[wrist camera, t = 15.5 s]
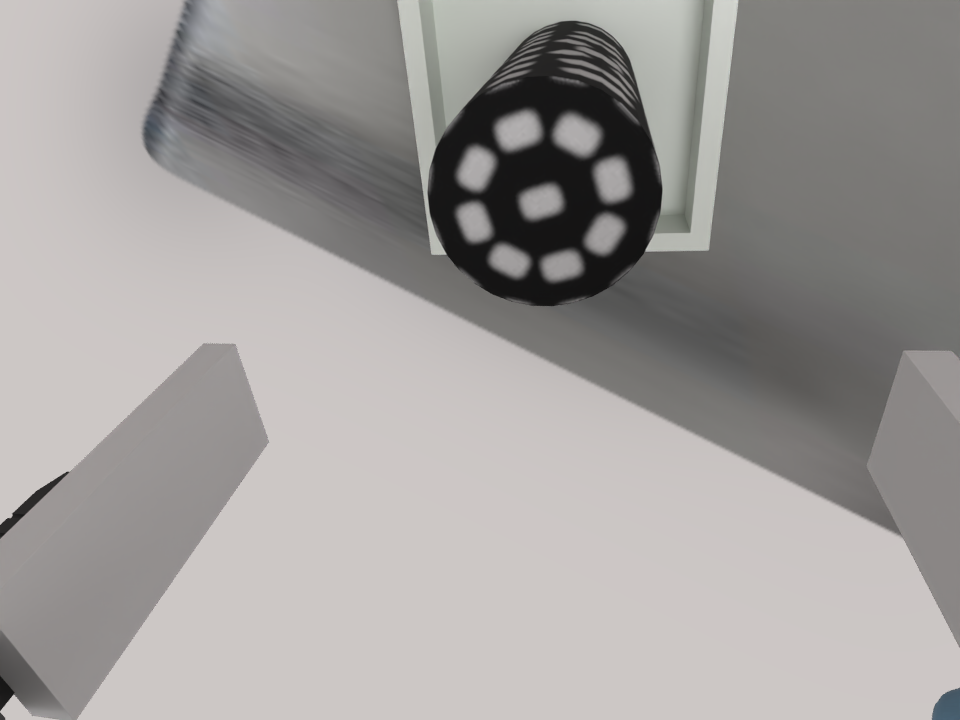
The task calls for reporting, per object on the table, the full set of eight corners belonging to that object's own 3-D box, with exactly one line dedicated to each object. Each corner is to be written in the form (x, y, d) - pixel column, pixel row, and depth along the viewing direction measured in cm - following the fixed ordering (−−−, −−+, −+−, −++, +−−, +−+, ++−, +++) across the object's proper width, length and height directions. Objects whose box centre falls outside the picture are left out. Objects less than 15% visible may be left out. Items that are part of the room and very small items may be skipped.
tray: (699, 224, 43) (708, 250, 39) (445, 230, 46) (431, 254, 42) (734, -98, 33) (750, -104, 30) (410, -62, 36) (388, -64, 33)
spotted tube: (524, 180, 42) (474, 327, 25) (482, 51, 38) (390, 125, 22) (649, 140, 39) (684, 275, 23) (617, -3, 35) (631, 34, 19)
